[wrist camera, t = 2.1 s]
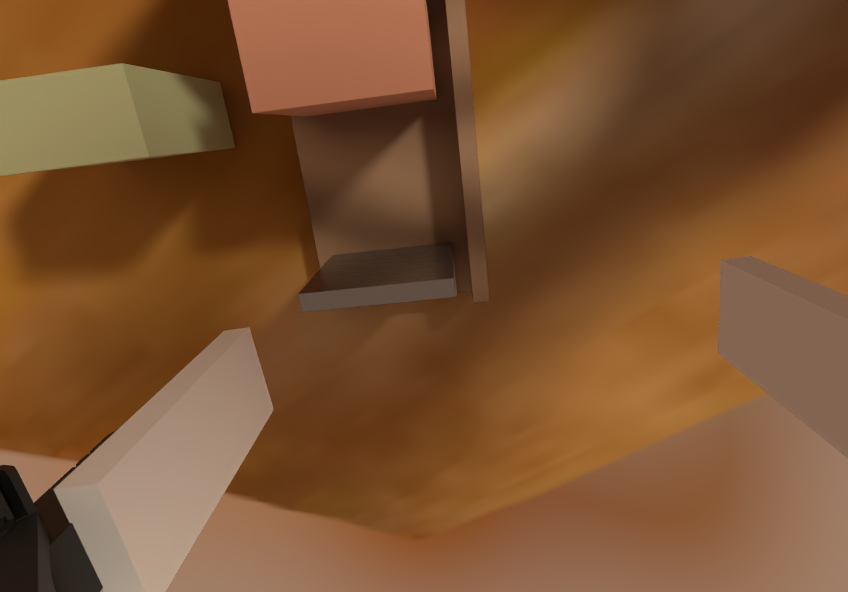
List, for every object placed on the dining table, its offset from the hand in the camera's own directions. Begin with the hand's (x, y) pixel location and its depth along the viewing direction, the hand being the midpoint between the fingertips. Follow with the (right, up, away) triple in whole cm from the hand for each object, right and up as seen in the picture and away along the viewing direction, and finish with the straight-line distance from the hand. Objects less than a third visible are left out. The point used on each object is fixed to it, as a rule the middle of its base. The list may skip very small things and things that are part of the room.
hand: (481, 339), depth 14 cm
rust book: (-5, +15, +15) cm, 22 cm away
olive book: (-18, +12, +18) cm, 29 cm away
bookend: (-4, +3, +19) cm, 20 cm away
